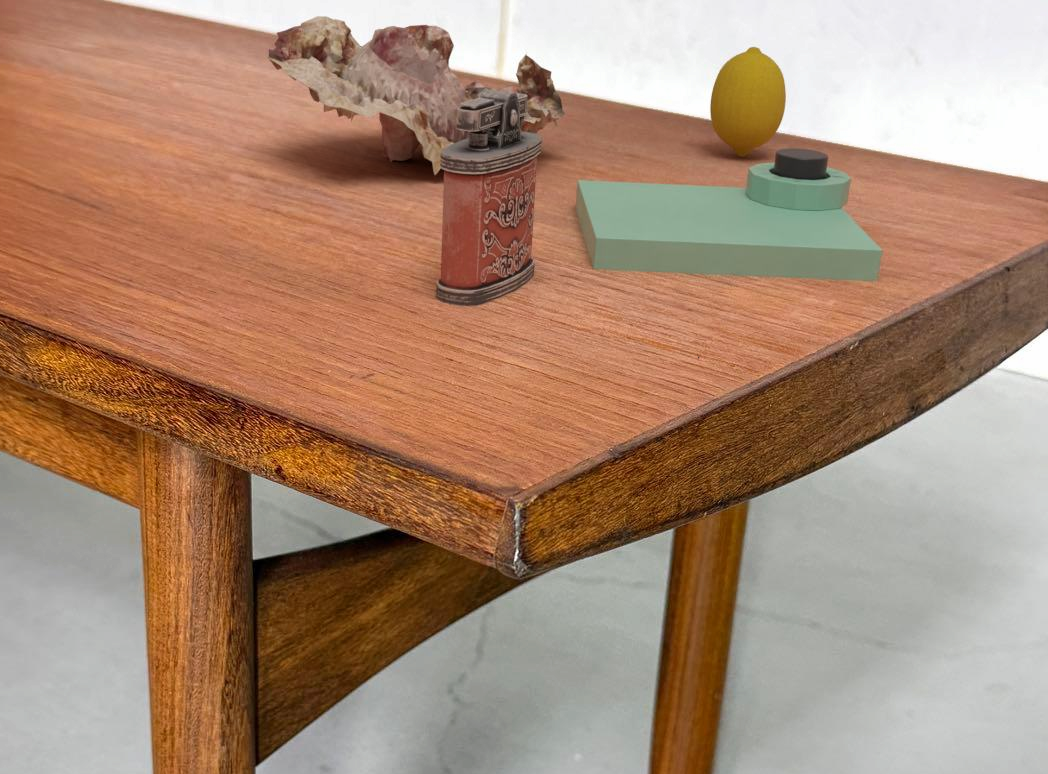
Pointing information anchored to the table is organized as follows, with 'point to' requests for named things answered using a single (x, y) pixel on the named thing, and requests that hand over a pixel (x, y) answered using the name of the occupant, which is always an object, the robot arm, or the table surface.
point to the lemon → (748, 101)
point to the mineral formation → (400, 82)
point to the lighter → (488, 202)
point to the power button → (800, 164)
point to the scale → (728, 228)
